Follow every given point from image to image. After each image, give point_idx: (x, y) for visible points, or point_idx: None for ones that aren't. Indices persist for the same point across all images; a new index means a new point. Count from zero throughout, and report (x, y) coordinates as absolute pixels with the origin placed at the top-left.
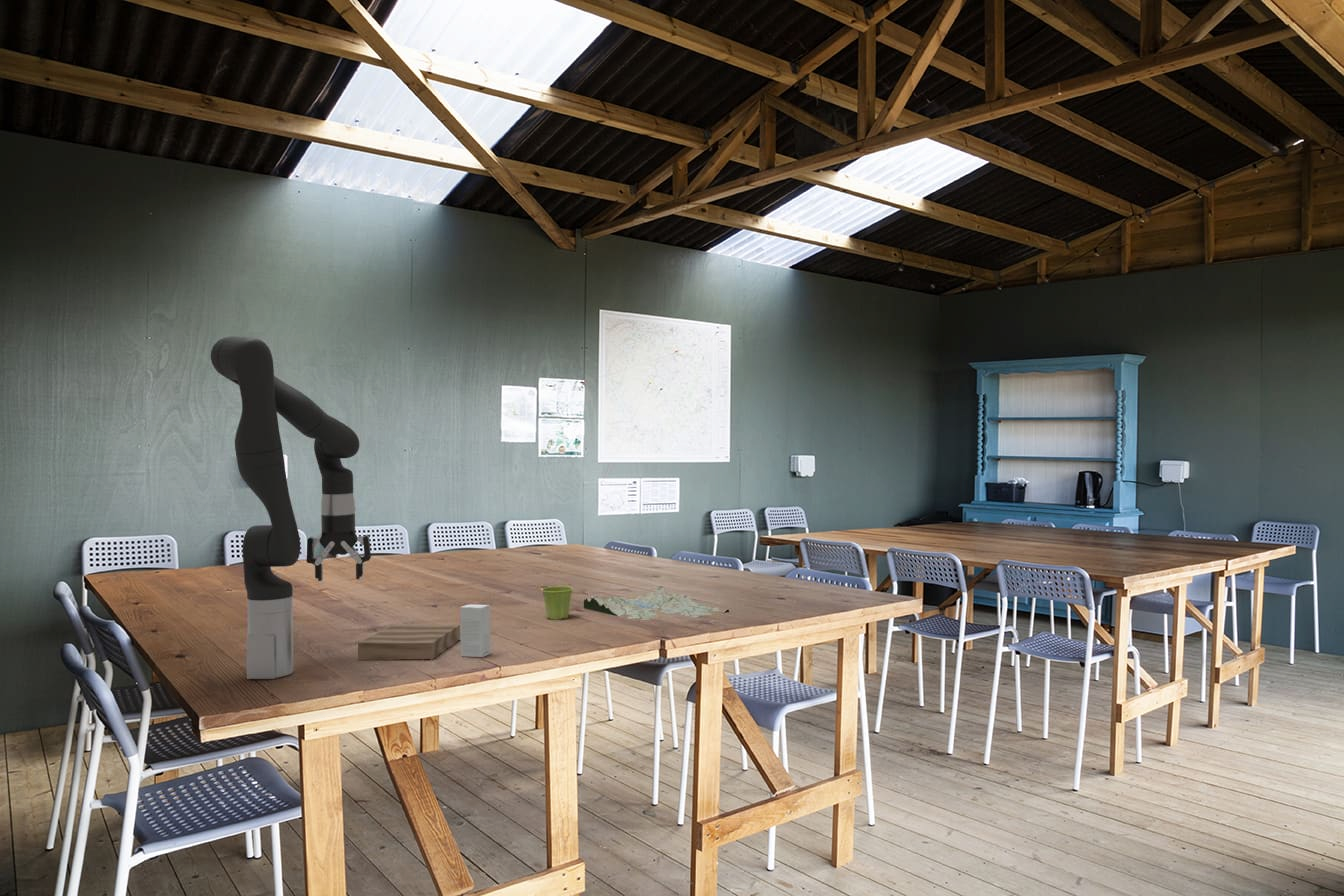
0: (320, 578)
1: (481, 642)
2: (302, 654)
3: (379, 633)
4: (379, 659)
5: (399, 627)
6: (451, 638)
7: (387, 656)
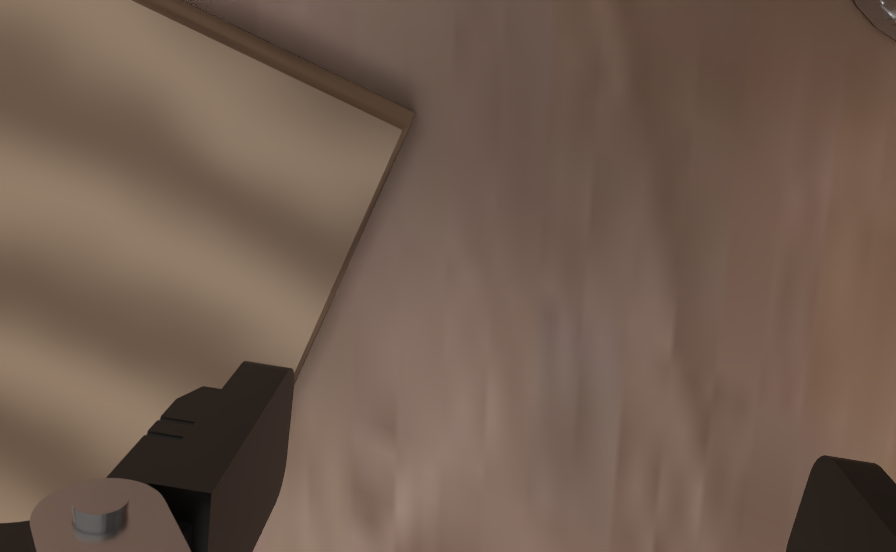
0: (849, 467)
1: None
2: (720, 415)
3: None
4: (285, 51)
5: None
6: None
7: (229, 28)
